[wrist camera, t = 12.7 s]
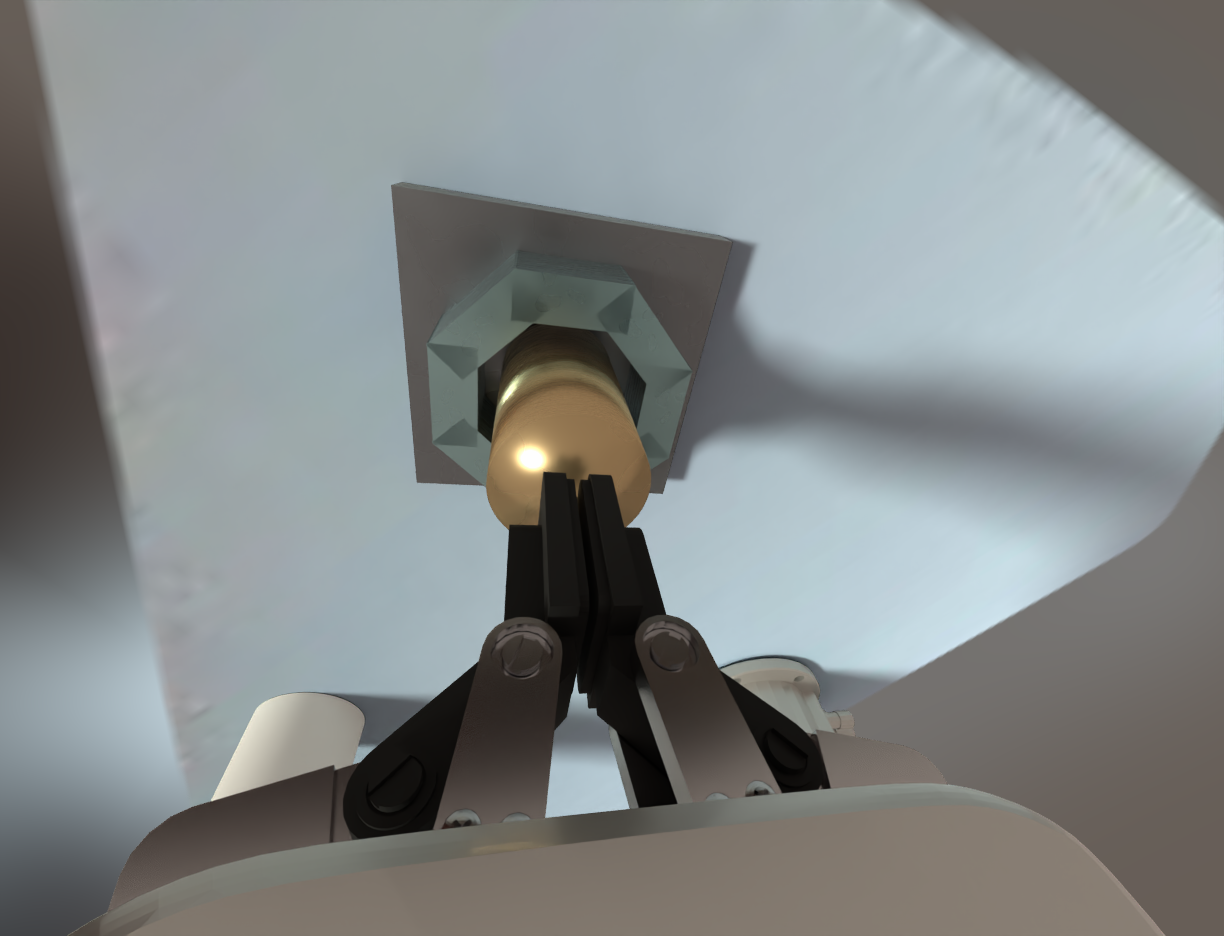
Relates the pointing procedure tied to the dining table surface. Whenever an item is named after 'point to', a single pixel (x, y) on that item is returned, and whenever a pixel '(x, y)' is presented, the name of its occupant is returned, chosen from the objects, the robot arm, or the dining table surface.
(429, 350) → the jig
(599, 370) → the gold round-topped cylinder
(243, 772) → the cylindrical container
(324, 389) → the dining table surface
